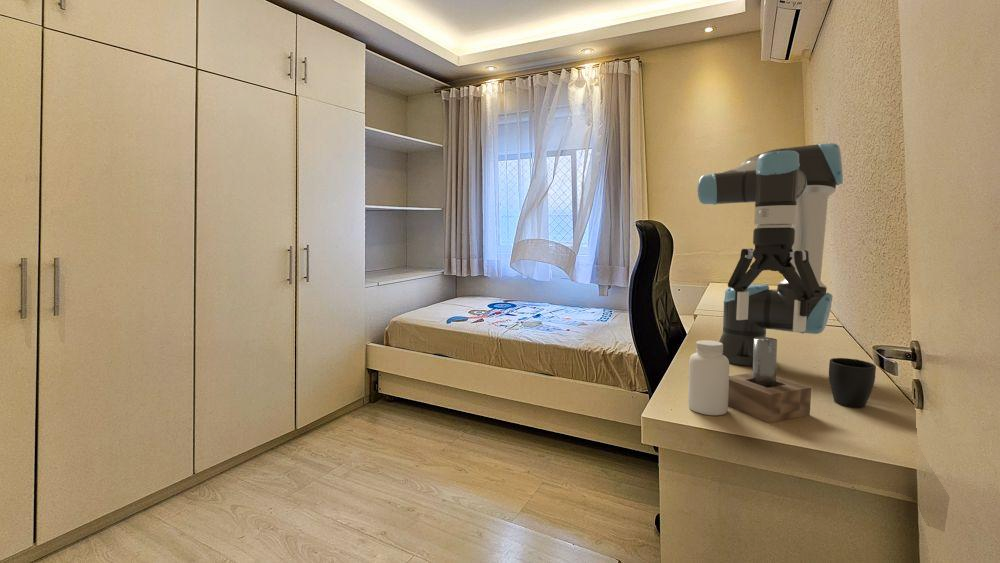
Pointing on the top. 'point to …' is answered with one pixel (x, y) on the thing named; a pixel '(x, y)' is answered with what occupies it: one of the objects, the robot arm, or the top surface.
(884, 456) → the top surface
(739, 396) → the socket block
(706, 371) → the pill bottle
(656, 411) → the top surface
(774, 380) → the peg
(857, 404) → the mug
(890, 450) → the top surface
